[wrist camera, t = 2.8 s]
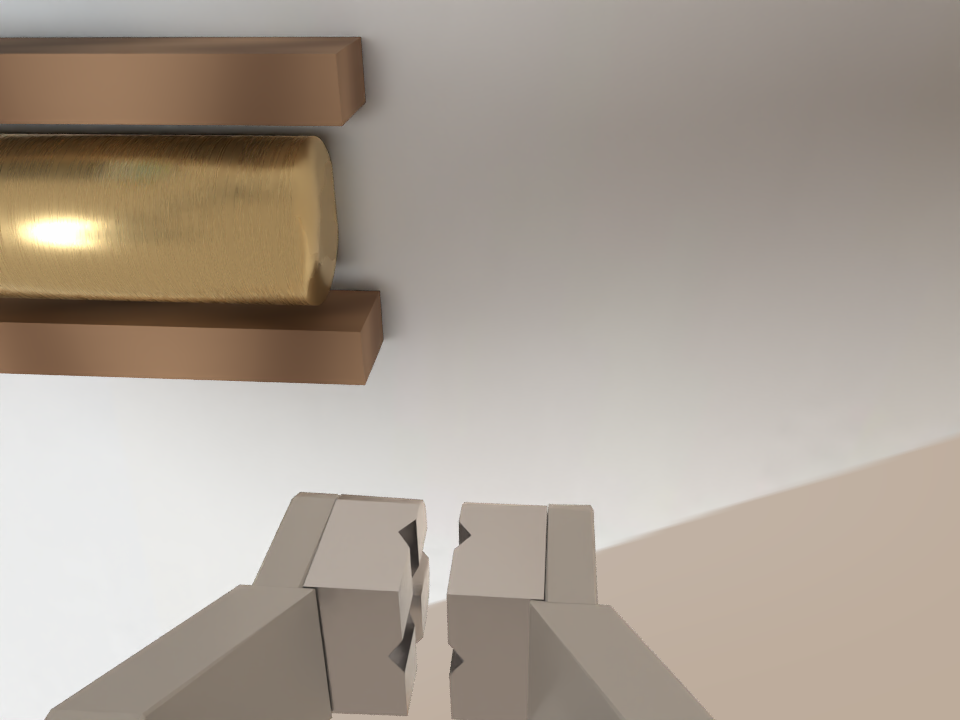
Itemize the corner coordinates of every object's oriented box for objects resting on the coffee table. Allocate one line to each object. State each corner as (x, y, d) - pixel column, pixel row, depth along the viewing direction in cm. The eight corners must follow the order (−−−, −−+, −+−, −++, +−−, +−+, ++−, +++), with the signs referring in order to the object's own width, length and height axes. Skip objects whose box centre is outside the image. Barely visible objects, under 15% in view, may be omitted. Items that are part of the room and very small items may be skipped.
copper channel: (360, 36, 20) (335, 53, 18) (383, 340, 24) (364, 385, 22) (-268, 38, 21) (-363, 53, 19) (-153, 325, 25) (-221, 365, 23)
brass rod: (330, 120, 21) (284, 159, 18) (343, 270, 23) (303, 333, 20) (-191, 116, 23) (-332, 153, 19) (-140, 260, 24) (-259, 317, 21)
